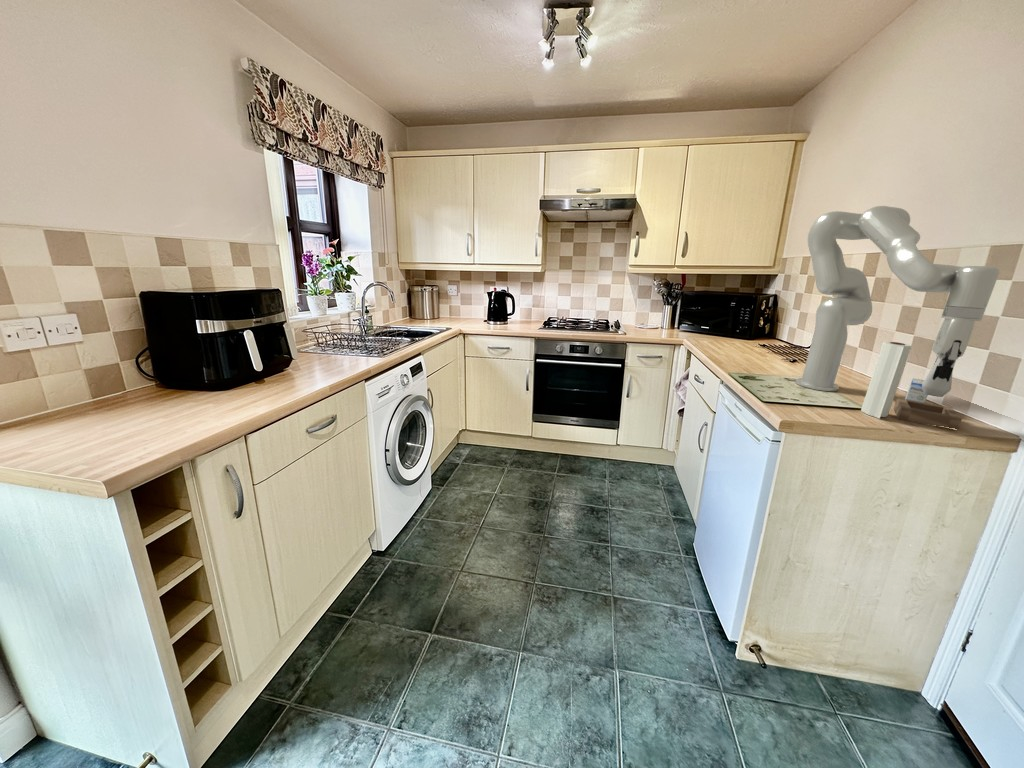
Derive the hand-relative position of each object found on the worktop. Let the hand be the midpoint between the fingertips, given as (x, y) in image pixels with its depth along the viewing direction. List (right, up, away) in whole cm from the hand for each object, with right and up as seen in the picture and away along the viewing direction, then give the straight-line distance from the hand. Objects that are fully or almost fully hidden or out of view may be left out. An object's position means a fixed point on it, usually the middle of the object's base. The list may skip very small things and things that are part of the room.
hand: (938, 378), depth 114 cm
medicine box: (+6, -9, +14) cm, 17 cm away
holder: (-1, -12, +4) cm, 12 cm away
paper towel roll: (-14, -11, +6) cm, 18 cm away
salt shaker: (0, -5, +1) cm, 5 cm away
